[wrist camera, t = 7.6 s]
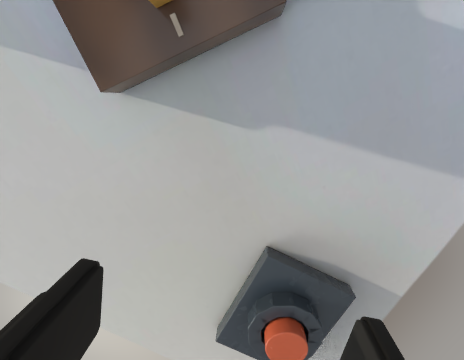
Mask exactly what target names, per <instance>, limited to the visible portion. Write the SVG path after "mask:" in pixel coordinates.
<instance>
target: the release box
mask: <svg viewBox="0 0 464 360" xmlns="http://www.w3.org/2000/svg"><path fill="white" fill-rule="evenodd" d="M355 298H356V297H355V295H354V293H353V291H352V289H351V287H350V285H348V284H346V283H344V282H341V281H339V280H337V279H335V278H333V277H331V276H329V275H327V274H325V273H322V272H320V271H318V270H316V269H314V268H312V267H310V266H308V265H305V264H303V263H301V262H299V261H297V260H295V259H293V258H291V257H289V256H286V255H284V254H282V253H280V252H278V251H276V250H274V249H272V248H269V247H266V249H265V250H264V252H263V253H262V255H261V257H260V258H259V260H258V262H257V263H256V265H255V267H254V268H253V270H252V272H251V273H250V275H249V277H248V278H247V280H246V281H245V283H244V285H243V286H242V288H241V290H240V291H239V293H238V295H237V296H236V298H235V300H234V301H233V303H232V305H231V306H230V308H229V310H228V311H227V313H226V314H225V316H224V318H223V319H222V321H221V323H220V324H219V326H218V328H217V334H216V342H218V343H221V344H223V345H225V346H228V347H230V348H232V349H234V350H237V351H239V352H241V353H244V354H246V355H248V356H250V357H253V358H255V359H257V360H270V359H269V357H268V356H267V354H266V351H265V339H264V330H265V327H266V326H267V324H268V323H269V322H270V321H272V320H273V319H276V318H279V317H289V318H293V319H295V320H297V321H298V322H299V323H300V324H301V325H302V326H303V328H304V331H305V335H306V339H307V344H308V353H307V356H306V357H305V359H304V360H308V358H310V357H311V356H312V355H313V354H314V353H315V351H316V350H317V349H318V348H319V346H320V345H321V344H322V340H323V339H324V338H325V336H326V335H327V334H328V333H329V331H330V330H331V329H332V327H333V326H334V325H335V324H336V322H337V321H338V320H339V318H340V317H341V316H342V315H343V313H344V312H345V311H346V309H347V308H348V307H349V306H350V304H351V303H352V302H353V300H354V299H355Z"/></svg>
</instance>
